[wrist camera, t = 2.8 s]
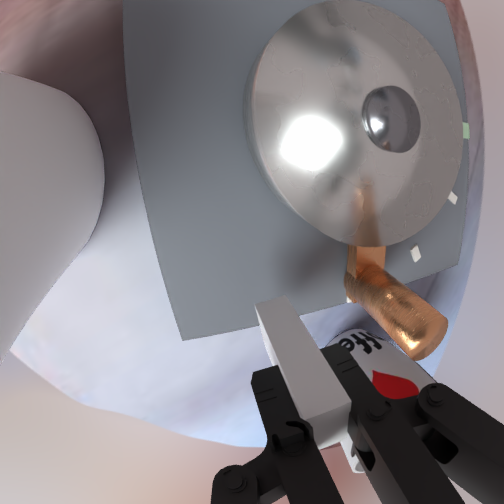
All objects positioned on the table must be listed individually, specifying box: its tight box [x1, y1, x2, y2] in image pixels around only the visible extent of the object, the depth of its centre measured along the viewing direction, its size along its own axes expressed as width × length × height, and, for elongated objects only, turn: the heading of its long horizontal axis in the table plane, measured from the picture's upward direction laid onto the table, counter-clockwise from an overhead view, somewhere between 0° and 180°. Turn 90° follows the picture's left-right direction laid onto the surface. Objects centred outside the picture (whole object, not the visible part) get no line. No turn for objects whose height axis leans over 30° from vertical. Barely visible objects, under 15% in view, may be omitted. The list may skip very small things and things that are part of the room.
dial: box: [242, 0, 463, 361], centre depth 10 cm, size 16×12×6 cm
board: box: [123, 0, 470, 341], centre depth 14 cm, size 22×22×2 cm
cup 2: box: [326, 329, 437, 473], centre depth 17 cm, size 8×8×10 cm
